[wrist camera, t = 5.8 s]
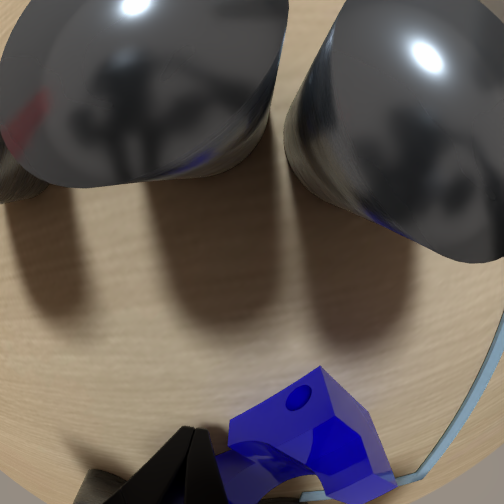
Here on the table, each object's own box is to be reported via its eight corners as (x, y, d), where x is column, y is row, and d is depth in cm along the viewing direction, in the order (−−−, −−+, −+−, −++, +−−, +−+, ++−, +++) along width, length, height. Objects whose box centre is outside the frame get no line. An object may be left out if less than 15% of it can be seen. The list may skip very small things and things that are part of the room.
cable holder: (318, 361, 9) (347, 458, 5) (366, 408, 10) (397, 486, 6) (166, 447, 10) (146, 518, 6) (221, 479, 11) (215, 543, 7)
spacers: (409, 77, 6) (529, 19, 1) (300, 519, 12) (305, 577, 7) (5, 93, 6) (-93, 80, 1) (100, 491, 12) (79, 542, 7)
